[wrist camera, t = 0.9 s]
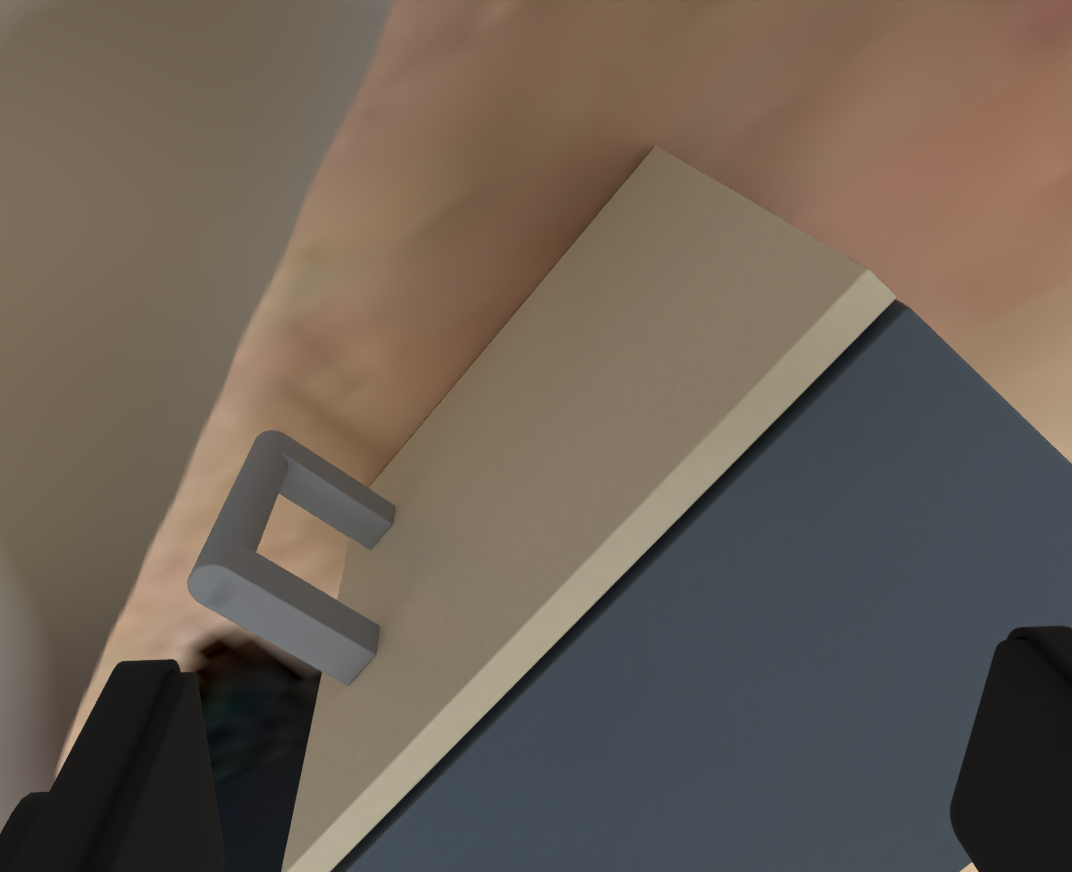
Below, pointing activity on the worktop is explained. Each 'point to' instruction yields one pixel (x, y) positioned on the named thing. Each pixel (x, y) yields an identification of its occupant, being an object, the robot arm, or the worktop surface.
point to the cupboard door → (530, 480)
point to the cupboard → (777, 650)
